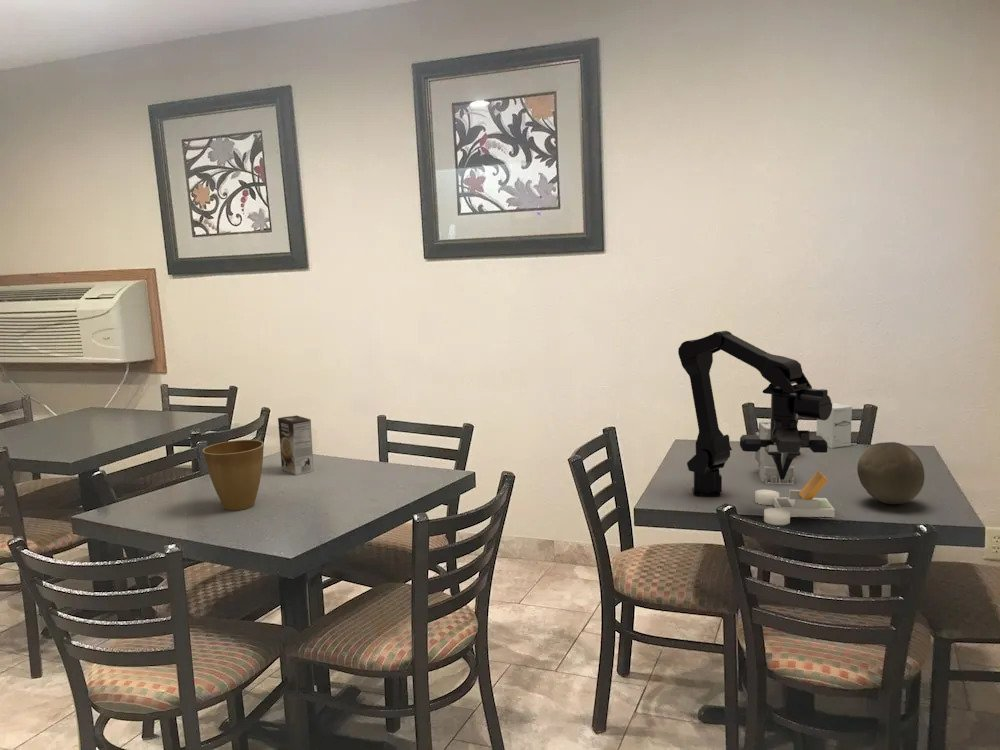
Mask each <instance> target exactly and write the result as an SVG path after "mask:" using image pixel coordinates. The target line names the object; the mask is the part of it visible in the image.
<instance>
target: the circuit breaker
mask: <svg viewBox="0 0 1000 750" xmlns="http://www.w3.org/2000/svg"><path fill="white" fill-rule="evenodd" d="M770 426H771V421H769V422H768V421H767V422H763V421H762V422H758V432H755V434H754V435H758V437H759V438H760V439H770ZM774 444H776V443H774ZM754 459H755V460H756V462H757V463H758V466H757V467H758V468H757V469H758V470H757V471H758V473H757V475H758V476H757V477H758V478H759V477H760V478H759V479H760V480H761V481H762V483H763V482H765V483H764V485H795V482H794V479H795V472H796V471H795V470H796V469H795V464H794V463H795V458H794V459H793V461H792V462H791V464H790V466H789V469H788V471H787V473H786V476H785V478H784V480H780V478H779V475H778V472H777V469H776V465H775V462H774V460H773V458H772V455H768V454H767V452H766V451H765V447H761V449H760V450H758V451H757V452H754ZM782 459H783V453H782V456H781V461H782ZM768 482H770V483H768ZM788 482H790V483H788Z"/></svg>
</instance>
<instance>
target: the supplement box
mask: <svg viewBox="0 0 1000 750" xmlns="http://www.w3.org/2000/svg"><path fill="white" fill-rule="evenodd" d="M831 403H832V411H831V414H830V416H829V418H828V419H827V420H818V419H816V433H815V434H816V435H815V436H821V437H822V438H823V439H824V440H825V441H826V442H827V444H828V448H829V449H834V448H842V447H851V443H852V442H851V441H852V419H853V418H852V417H853V416H852V414H853V406H851V405H849V404H848V405H847V404H842V403H837V402H834V403H833V402H831Z"/></svg>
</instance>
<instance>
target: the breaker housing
mask: <svg viewBox="0 0 1000 750" xmlns="http://www.w3.org/2000/svg"><path fill="white" fill-rule="evenodd" d="M801 490H802V489H788V497H781V496H779V497H773V505H774V506H773V505H772V506H773V508H774V507H775V508H782V509H786V510H788V511H790V518H791V517H796V516H822V517H824V516H826V517H835V514H836V510H835V508H834V507H833V506H832V504H831V503H830V502H829V500H828V499H827V498H826V497H814V498H813V499H812V500H810V499H800V497H799V493H800V491H801ZM835 518H836V517H835Z"/></svg>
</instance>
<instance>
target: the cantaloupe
mask: <svg viewBox="0 0 1000 750" xmlns="http://www.w3.org/2000/svg"><path fill="white" fill-rule="evenodd" d="M856 468H857V469H856V470H857V476H858V478H859V481H860V484H861V486H862V487H863V488H864V489H865V491H866V492H867V493H868V494H869V495H870V496H871V497H872V498H873V499H875V500H877V501H879V502H881V503H883V504H887V505H902V504H905V503H908V502H911V500H913V499H914V498H916V497H917V496H918V495H919V493H920V492H921V491H922V489H923V487H924V483H925V479H926V477H925V468H924V465H923V462H922V460H921V459H920V456H918V454H917V453H916V452H915V451H914V450H912V449H911V448H910V447H908V446H907V445H905V444H903V443H900V442H895V441H890V442H889V441H887V442H886V441H885V442H878V443H874V444H872V445H870V446H869V447H868V448H867V449H865V450H864V451H863V453H862V454H861V455H860V457H859V459H858V462H857V467H856Z"/></svg>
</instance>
